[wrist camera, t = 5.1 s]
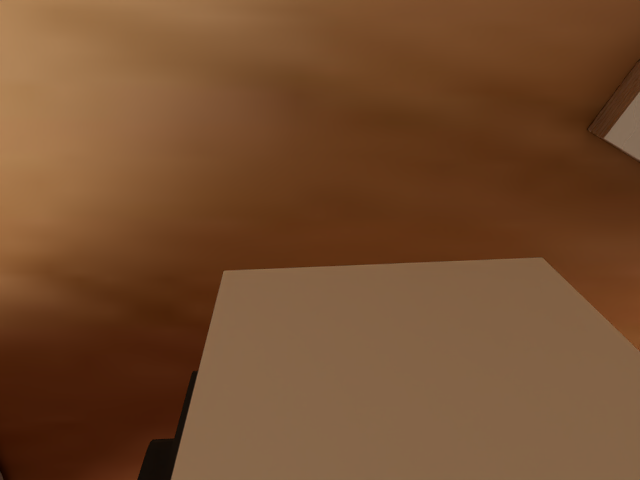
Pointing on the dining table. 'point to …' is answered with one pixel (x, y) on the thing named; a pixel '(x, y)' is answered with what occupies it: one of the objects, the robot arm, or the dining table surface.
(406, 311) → the hollow square tube
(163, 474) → the robot arm
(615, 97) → the square peg base
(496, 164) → the dining table surface
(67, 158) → the dining table surface
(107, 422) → the dining table surface
